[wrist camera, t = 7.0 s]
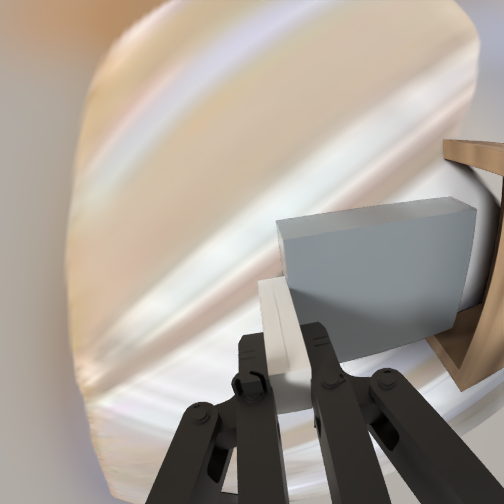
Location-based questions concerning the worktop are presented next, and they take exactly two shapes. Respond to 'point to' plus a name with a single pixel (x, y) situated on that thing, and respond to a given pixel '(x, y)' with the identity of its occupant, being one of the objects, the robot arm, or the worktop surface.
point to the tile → (378, 271)
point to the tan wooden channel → (495, 297)
